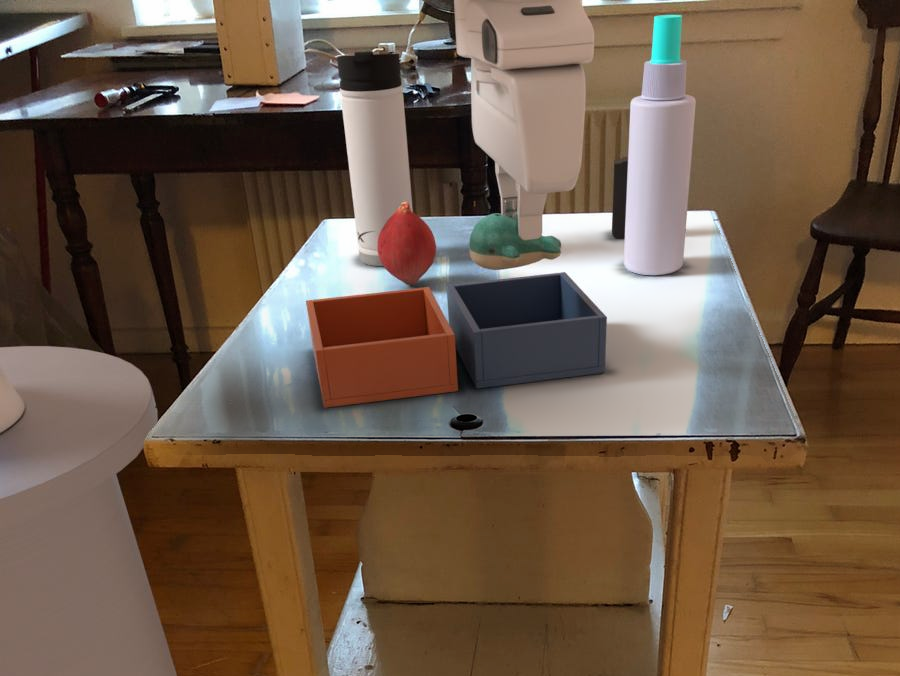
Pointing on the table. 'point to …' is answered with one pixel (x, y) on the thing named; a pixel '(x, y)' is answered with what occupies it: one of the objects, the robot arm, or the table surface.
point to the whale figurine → (508, 245)
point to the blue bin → (526, 329)
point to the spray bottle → (659, 158)
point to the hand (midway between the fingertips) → (521, 229)
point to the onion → (406, 245)
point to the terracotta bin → (381, 347)
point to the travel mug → (374, 143)
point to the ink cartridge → (619, 197)
